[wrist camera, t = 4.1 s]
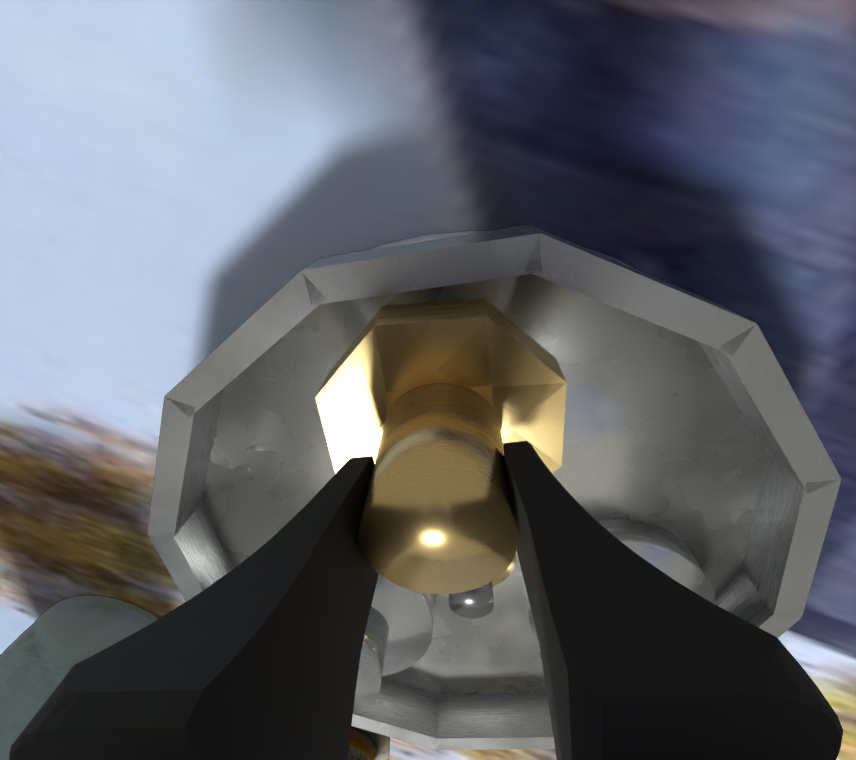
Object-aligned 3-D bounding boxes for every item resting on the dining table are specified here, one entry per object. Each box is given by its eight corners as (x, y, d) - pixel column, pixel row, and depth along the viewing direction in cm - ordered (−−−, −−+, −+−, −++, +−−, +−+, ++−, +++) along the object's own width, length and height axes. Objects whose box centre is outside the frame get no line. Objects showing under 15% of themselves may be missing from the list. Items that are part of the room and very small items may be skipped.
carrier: (818, 171, 13) (1031, 172, 8) (723, 668, 23) (794, 803, 18) (107, 285, 16) (-47, 336, 11) (292, 681, 26) (253, 800, 21)
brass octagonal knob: (558, 291, 12) (625, 394, 7) (550, 483, 16) (591, 638, 11) (313, 310, 13) (229, 416, 8) (356, 490, 16) (314, 640, 11)
